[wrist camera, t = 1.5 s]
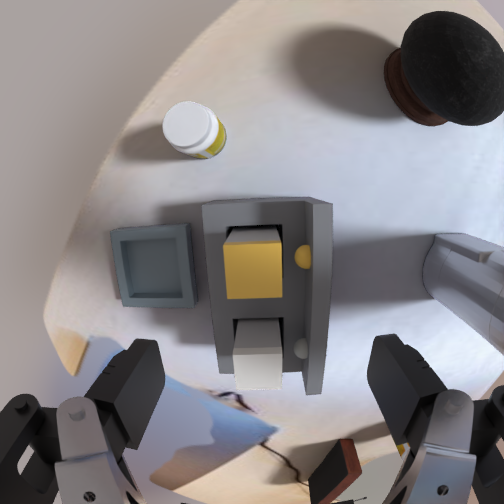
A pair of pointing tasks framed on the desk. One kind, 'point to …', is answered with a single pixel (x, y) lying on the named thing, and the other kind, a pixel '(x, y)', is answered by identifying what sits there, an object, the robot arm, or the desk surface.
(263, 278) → the block
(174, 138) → the supplement bottle
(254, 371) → the block
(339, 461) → the radio
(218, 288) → the box
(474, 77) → the spherical smart speaker
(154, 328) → the desk surface
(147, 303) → the square tray
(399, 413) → the robot arm
